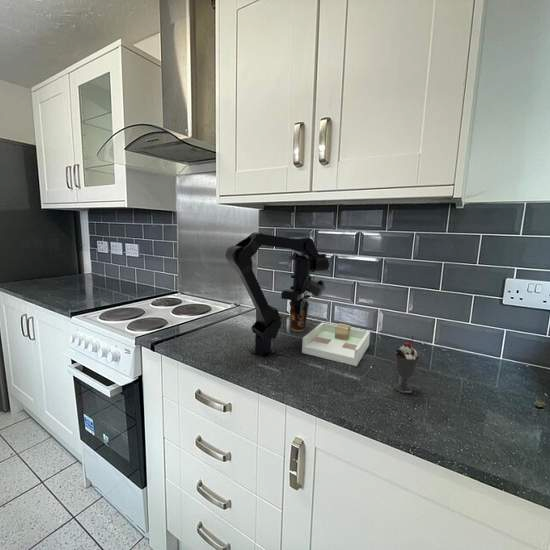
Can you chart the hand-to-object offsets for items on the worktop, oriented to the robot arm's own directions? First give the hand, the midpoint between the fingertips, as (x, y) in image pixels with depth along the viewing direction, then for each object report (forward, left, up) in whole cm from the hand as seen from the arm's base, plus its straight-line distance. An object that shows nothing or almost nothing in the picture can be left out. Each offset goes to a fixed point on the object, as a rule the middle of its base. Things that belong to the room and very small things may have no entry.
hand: (298, 314), depth 108 cm
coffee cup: (+17, +7, -12) cm, 22 cm away
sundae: (-12, -38, -12) cm, 41 cm away
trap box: (+5, -14, -12) cm, 19 cm away
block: (+11, -14, -9) cm, 20 cm away
